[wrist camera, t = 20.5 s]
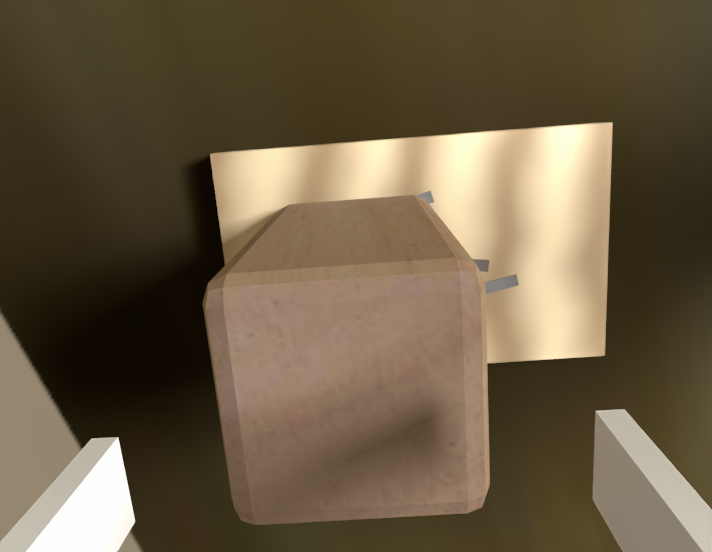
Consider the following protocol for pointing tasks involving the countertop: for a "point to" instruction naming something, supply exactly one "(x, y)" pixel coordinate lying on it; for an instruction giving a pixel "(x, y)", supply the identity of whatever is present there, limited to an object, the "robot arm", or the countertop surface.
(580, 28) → the countertop surface
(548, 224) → the board
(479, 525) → the countertop surface
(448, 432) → the block
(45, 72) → the countertop surface
